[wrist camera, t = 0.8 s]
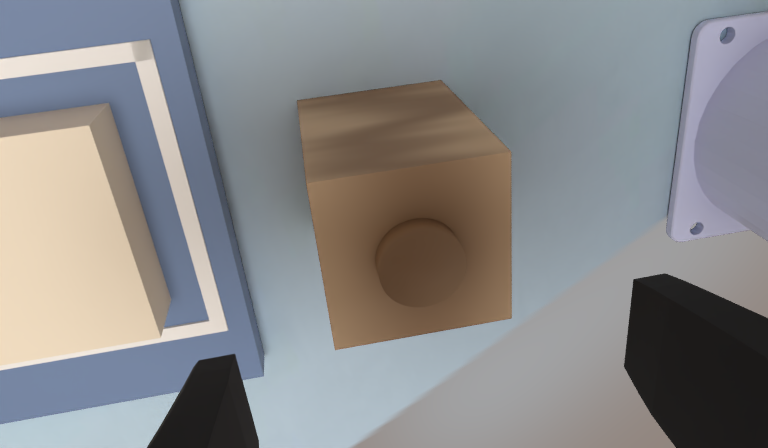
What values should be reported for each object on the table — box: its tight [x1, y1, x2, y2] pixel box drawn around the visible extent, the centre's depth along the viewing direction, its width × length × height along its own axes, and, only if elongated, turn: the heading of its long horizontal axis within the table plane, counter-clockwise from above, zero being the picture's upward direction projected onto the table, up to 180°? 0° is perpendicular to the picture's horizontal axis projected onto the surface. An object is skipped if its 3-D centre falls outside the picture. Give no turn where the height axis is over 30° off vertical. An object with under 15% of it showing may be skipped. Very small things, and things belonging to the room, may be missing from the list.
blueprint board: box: [0, 0, 264, 424], centre depth 17 cm, size 11×14×3 cm
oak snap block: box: [297, 80, 512, 350], centre depth 17 cm, size 4×4×7 cm
